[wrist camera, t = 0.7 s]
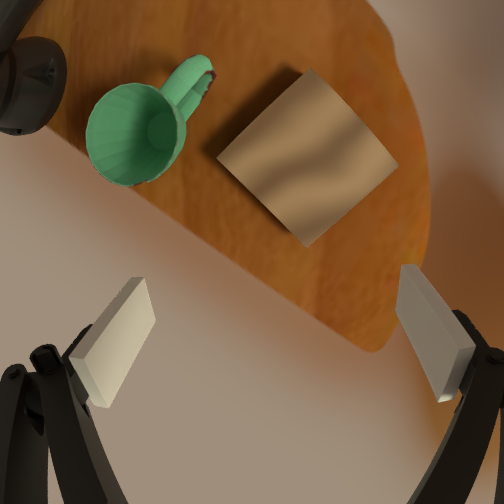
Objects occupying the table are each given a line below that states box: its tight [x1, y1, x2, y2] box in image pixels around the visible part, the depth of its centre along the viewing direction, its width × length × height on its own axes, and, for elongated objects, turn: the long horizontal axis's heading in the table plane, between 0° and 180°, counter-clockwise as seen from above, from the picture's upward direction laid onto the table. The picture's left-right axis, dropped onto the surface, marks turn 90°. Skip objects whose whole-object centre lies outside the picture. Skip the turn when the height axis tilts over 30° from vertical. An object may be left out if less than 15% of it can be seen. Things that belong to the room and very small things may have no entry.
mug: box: [86, 54, 217, 187], centre depth 30 cm, size 15×10×10 cm
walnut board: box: [216, 68, 399, 248], centre depth 34 cm, size 14×14×3 cm
